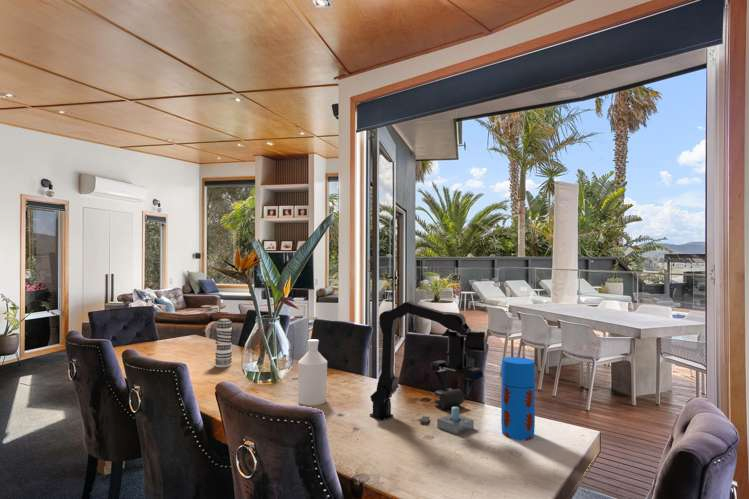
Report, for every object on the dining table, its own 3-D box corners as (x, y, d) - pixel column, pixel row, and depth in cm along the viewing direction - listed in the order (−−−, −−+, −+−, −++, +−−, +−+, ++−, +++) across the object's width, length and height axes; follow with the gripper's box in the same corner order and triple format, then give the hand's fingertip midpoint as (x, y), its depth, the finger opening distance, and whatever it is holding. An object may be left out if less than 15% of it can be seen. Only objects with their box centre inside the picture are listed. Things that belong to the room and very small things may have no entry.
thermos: (517, 442, 147) (518, 365, 147) (494, 431, 156) (495, 358, 157) (541, 437, 152) (542, 362, 152) (517, 426, 161) (518, 355, 162)
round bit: (455, 429, 157) (456, 409, 157) (449, 427, 159) (450, 407, 159) (460, 428, 159) (460, 407, 159) (454, 425, 161) (454, 406, 161)
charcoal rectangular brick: (427, 425, 162) (427, 421, 162) (420, 424, 162) (420, 420, 162) (429, 420, 167) (429, 416, 167) (422, 420, 167) (422, 416, 167)
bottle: (307, 407, 179) (308, 344, 179) (292, 400, 188) (293, 339, 188) (332, 401, 186) (333, 340, 187) (316, 394, 195) (317, 336, 196)
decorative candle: (211, 366, 243) (212, 320, 243) (219, 363, 252) (220, 317, 252) (227, 367, 241) (227, 320, 242) (235, 363, 250) (236, 318, 251)
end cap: (446, 412, 176) (446, 394, 176) (433, 407, 181) (433, 390, 182) (464, 407, 181) (464, 390, 182) (451, 402, 187) (451, 386, 187)
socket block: (458, 435, 152) (458, 426, 153) (437, 427, 159) (437, 418, 159) (473, 428, 159) (473, 419, 159) (452, 421, 165) (452, 413, 165)
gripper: (491, 350, 158) (491, 395, 158) (449, 342, 172) (448, 384, 171) (473, 354, 150) (473, 402, 150) (430, 346, 164) (429, 389, 164)
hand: (455, 394), depth 159 cm, fingers open, 9 cm apart
